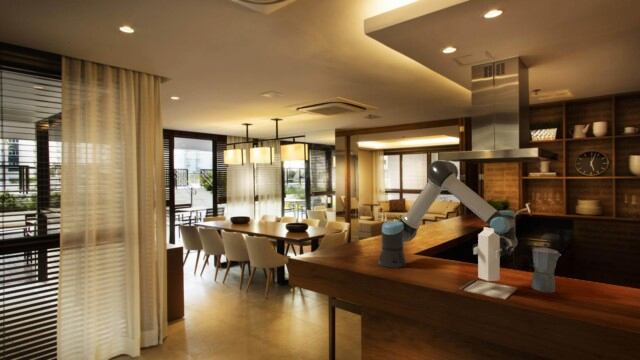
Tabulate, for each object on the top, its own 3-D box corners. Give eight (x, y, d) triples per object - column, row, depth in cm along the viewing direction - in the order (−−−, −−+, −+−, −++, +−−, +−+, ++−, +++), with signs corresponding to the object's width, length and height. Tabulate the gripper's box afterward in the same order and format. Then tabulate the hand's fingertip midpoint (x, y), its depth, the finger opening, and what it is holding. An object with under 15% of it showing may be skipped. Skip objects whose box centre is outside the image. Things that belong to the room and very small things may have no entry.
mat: (457, 289, 150) (457, 287, 150) (472, 280, 163) (472, 279, 163) (505, 299, 138) (505, 298, 138) (517, 289, 151) (517, 287, 151)
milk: (488, 281, 146) (488, 229, 146) (477, 277, 152) (477, 227, 152) (500, 280, 148) (499, 228, 148) (489, 276, 154) (489, 226, 154)
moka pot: (554, 296, 142) (554, 247, 142) (517, 286, 155) (518, 241, 155) (567, 293, 146) (567, 245, 146) (530, 283, 160) (531, 239, 160)
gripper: (526, 256, 156) (512, 265, 140) (477, 250, 171) (460, 257, 154) (526, 239, 156) (512, 246, 140) (477, 234, 171) (460, 240, 154)
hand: (485, 252), depth 147 cm, fingers closed on milk, 8 cm apart
